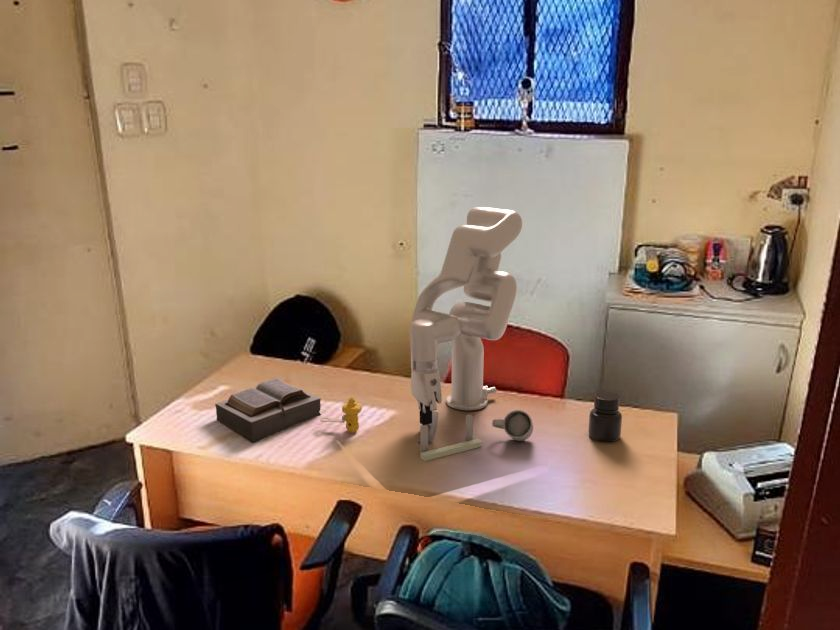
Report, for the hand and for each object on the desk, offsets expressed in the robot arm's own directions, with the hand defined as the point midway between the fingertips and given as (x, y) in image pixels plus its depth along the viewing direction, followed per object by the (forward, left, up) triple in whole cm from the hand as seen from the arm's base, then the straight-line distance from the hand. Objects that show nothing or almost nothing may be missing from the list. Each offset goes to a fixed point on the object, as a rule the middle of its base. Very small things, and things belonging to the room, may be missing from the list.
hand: (426, 423), depth 224 cm
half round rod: (-1, 0, -3) cm, 3 cm away
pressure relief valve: (+22, -11, -2) cm, 24 cm away
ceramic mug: (-17, +18, -2) cm, 25 cm away
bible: (+37, -28, -3) cm, 46 cm away
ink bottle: (-42, +27, -2) cm, 50 cm away
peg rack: (+1, +13, -2) cm, 14 cm away
